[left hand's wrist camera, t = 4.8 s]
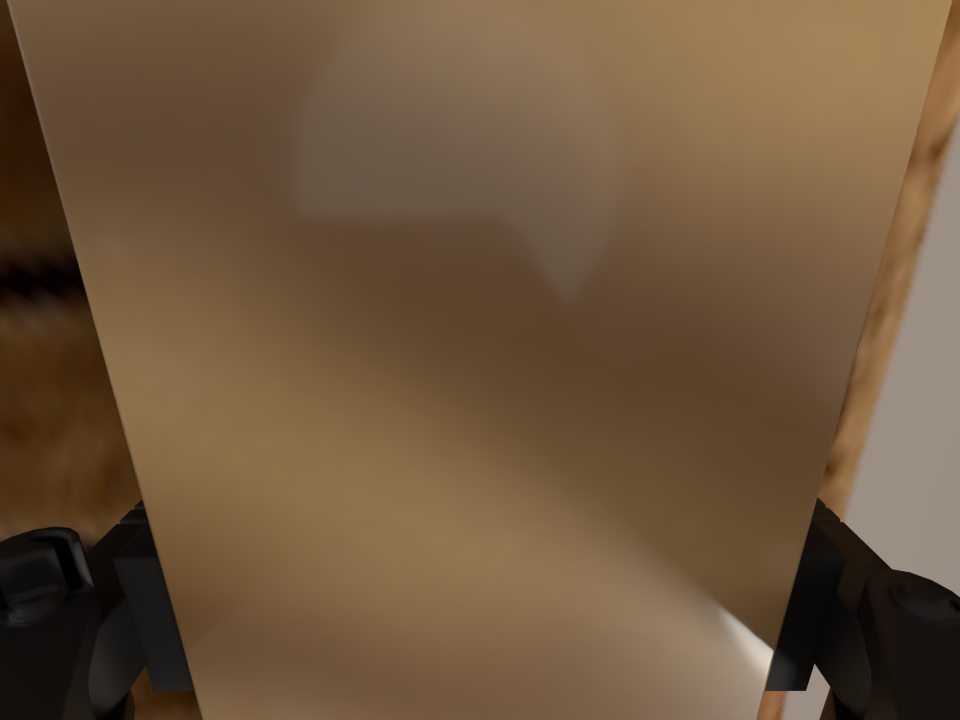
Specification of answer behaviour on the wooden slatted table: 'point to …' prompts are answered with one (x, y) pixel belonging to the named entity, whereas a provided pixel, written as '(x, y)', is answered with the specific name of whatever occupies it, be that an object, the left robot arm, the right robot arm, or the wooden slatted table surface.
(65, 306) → the wooden slatted table surface
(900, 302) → the wooden slatted table surface
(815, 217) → the long beam
